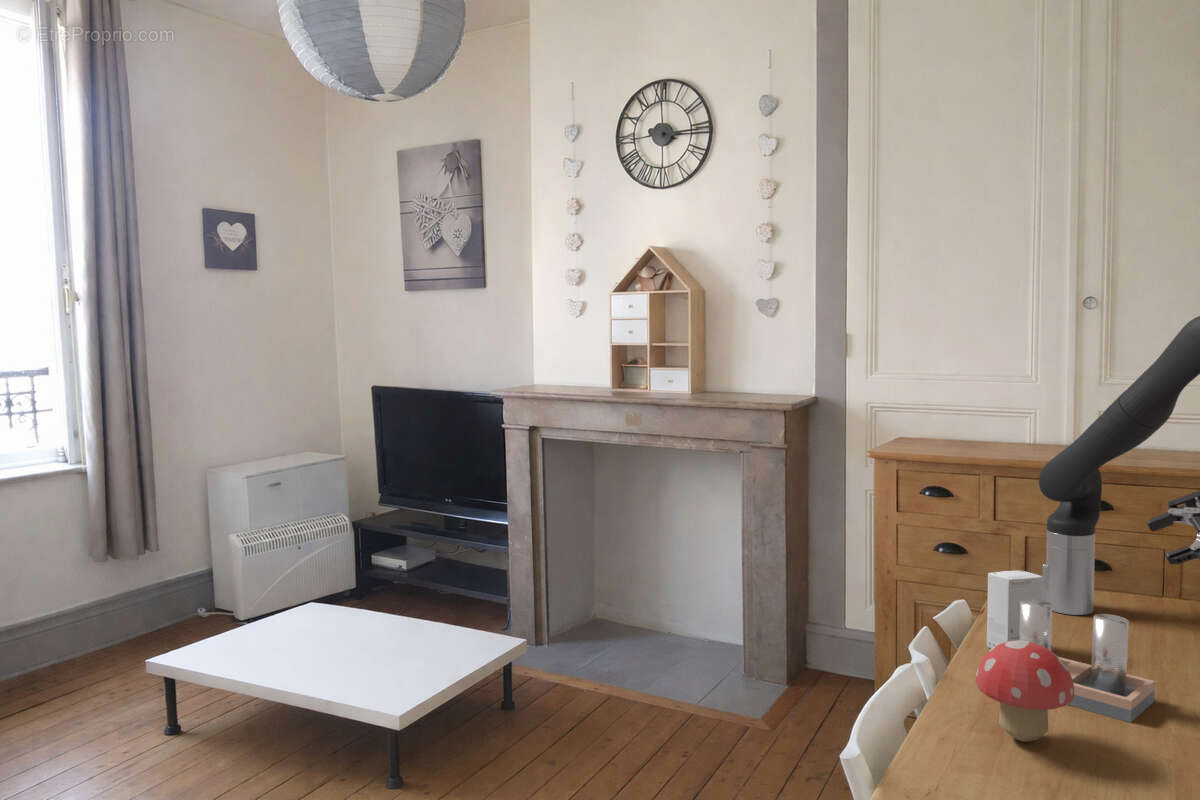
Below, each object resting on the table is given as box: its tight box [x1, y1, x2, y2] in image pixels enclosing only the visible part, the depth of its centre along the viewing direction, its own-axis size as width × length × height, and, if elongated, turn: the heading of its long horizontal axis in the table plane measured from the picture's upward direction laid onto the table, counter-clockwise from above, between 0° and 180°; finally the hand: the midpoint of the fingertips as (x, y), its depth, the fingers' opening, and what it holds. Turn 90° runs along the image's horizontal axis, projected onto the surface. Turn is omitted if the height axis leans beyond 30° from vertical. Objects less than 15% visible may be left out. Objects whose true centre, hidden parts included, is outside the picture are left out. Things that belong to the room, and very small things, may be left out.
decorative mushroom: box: [975, 640, 1074, 743], centre depth 131 cm, size 13×13×15 cm
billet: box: [1090, 613, 1130, 696], centre depth 143 cm, size 5×5×12 cm
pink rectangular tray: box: [1057, 656, 1156, 724], centre depth 148 cm, size 22×11×4 cm, turn 41°
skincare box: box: [986, 569, 1043, 650], centre depth 167 cm, size 8×6×15 cm
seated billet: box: [1020, 599, 1053, 652], centre depth 152 cm, size 5×5×12 cm
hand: (1158, 543), depth 151 cm, fingers open, 8 cm apart
